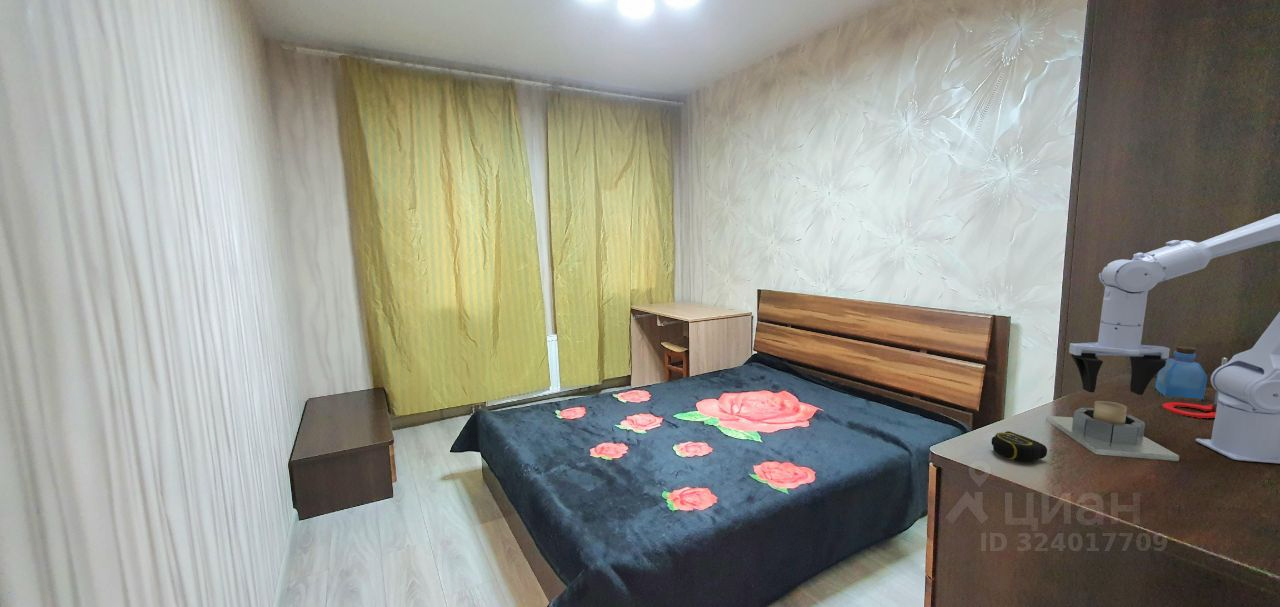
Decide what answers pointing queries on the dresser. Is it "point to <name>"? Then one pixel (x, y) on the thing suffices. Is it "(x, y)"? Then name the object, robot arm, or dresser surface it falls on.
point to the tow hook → (1212, 407)
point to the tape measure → (1018, 447)
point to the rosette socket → (1111, 436)
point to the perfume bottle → (1182, 375)
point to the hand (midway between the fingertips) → (1112, 391)
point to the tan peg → (1110, 412)
